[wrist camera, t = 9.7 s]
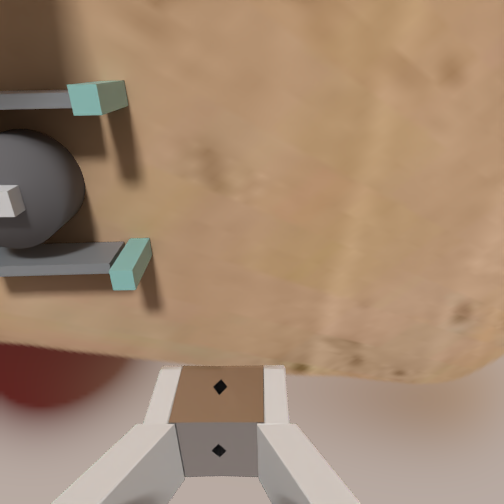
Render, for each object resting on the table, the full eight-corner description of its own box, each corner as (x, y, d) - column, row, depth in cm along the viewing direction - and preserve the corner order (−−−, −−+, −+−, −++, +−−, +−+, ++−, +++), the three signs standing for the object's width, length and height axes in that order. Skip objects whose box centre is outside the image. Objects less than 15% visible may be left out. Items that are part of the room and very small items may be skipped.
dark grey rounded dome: (73, 128, 25) (35, 143, 20) (93, 224, 28) (64, 256, 23) (-32, 128, 25) (-97, 143, 20) (0, 225, 28) (-49, 257, 23)
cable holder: (124, 80, 23) (96, 84, 19) (152, 255, 29) (135, 289, 25) (-71, 84, 23) (-146, 89, 19) (-5, 259, 29) (-50, 295, 24)
